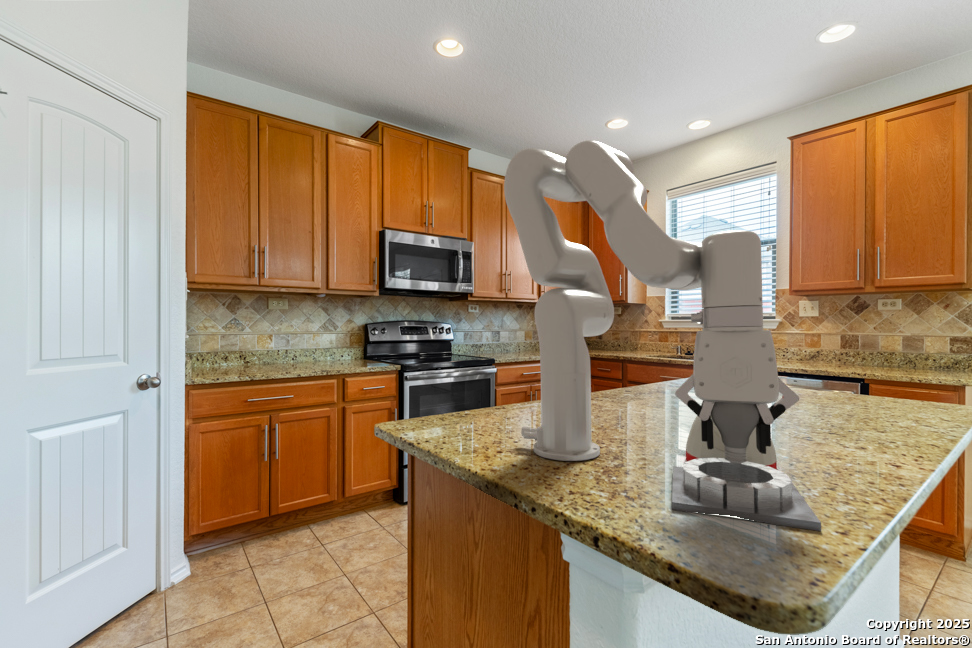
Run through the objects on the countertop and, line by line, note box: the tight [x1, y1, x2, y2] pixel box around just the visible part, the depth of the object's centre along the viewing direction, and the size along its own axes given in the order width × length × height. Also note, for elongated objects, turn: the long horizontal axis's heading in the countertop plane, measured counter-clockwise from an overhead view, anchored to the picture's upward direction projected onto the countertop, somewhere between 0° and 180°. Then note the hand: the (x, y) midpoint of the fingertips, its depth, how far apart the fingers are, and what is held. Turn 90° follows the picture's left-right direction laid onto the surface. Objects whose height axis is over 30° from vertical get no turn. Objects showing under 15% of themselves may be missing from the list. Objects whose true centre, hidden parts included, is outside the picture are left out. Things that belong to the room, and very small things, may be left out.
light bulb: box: [711, 402, 759, 464], centre depth 61 cm, size 6×6×10 cm
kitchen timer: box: [685, 413, 778, 470], centre depth 77 cm, size 14×14×15 cm
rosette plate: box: [671, 458, 822, 532], centre depth 61 cm, size 16×16×4 cm
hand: (735, 447), depth 61 cm, fingers closed on light bulb, 5 cm apart
